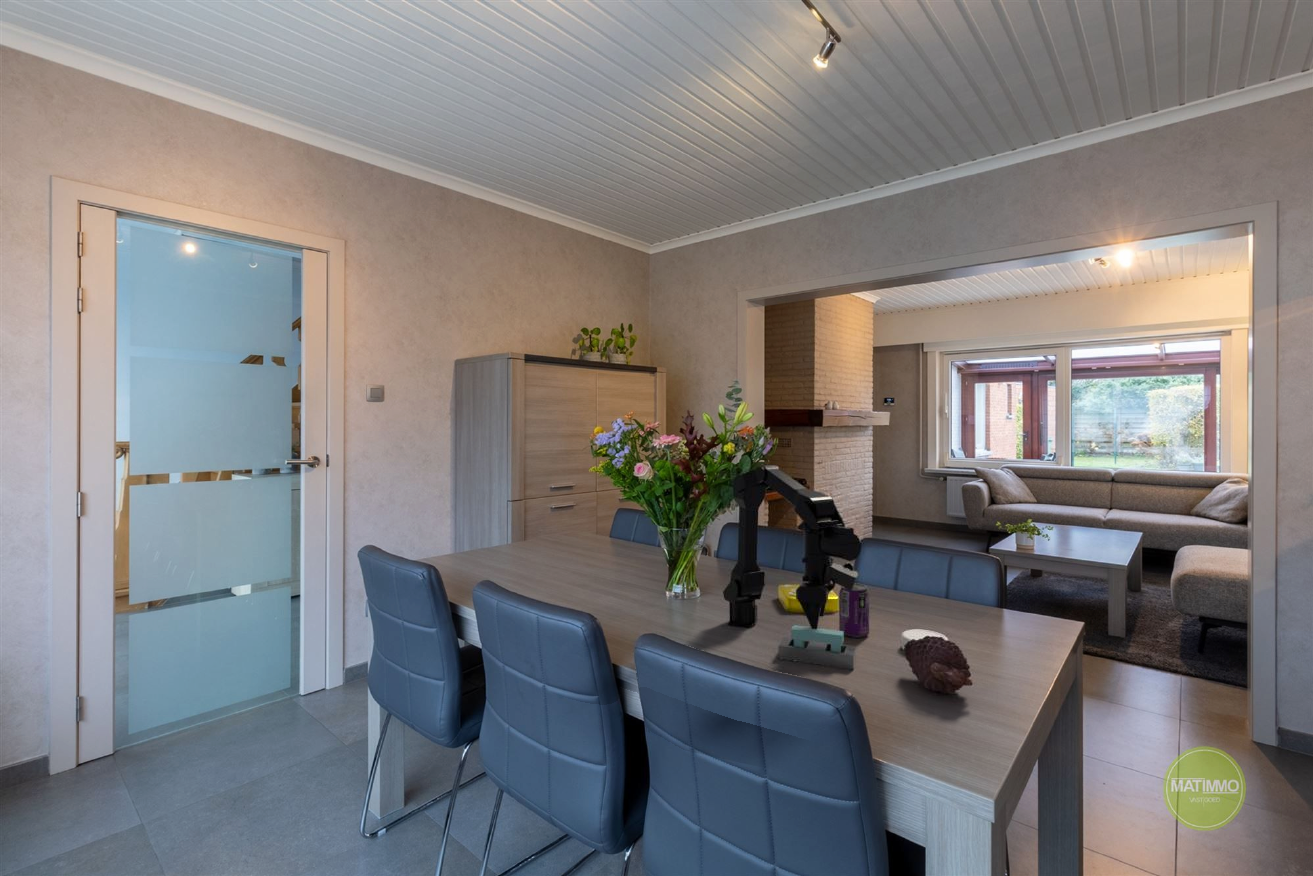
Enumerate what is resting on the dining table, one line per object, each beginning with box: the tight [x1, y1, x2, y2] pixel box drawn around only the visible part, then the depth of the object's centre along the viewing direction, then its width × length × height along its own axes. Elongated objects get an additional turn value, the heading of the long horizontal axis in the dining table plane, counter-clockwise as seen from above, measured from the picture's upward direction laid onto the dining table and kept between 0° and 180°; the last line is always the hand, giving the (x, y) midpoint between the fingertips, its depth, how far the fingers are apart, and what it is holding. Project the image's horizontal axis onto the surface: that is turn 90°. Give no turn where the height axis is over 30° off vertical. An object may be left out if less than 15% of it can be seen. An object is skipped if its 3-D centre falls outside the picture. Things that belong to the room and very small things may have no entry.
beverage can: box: [838, 582, 870, 638], centre depth 150 cm, size 7×7×12 cm
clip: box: [790, 624, 845, 653], centre depth 134 cm, size 11×3×6 cm, turn 67°
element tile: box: [778, 584, 839, 613], centre depth 175 cm, size 15×15×5 cm
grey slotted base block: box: [777, 636, 857, 671], centre depth 134 cm, size 16×6×3 cm, turn 67°
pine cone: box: [903, 636, 973, 695], centre depth 119 cm, size 18×10×10 cm, turn 12°
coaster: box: [900, 628, 950, 651], centre depth 139 cm, size 10×10×4 cm
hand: (817, 622), depth 134 cm, fingers open, 9 cm apart
